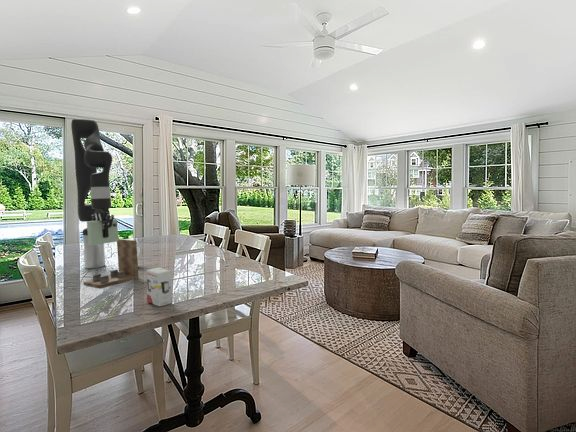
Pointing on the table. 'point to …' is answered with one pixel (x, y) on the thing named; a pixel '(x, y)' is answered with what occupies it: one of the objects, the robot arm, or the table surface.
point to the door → (96, 232)
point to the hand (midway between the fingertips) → (103, 237)
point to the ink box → (159, 286)
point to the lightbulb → (138, 251)
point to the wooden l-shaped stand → (125, 263)
